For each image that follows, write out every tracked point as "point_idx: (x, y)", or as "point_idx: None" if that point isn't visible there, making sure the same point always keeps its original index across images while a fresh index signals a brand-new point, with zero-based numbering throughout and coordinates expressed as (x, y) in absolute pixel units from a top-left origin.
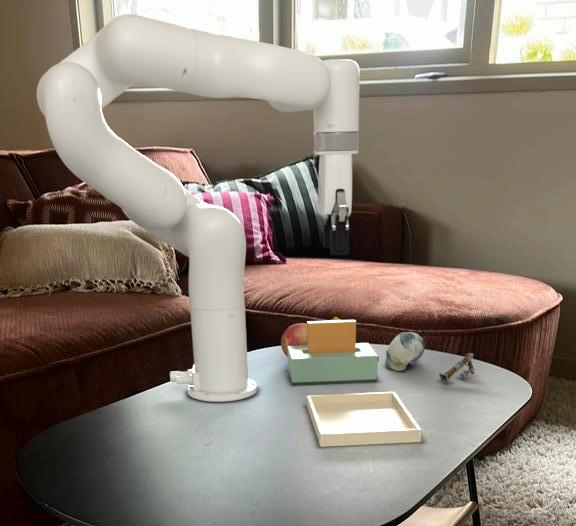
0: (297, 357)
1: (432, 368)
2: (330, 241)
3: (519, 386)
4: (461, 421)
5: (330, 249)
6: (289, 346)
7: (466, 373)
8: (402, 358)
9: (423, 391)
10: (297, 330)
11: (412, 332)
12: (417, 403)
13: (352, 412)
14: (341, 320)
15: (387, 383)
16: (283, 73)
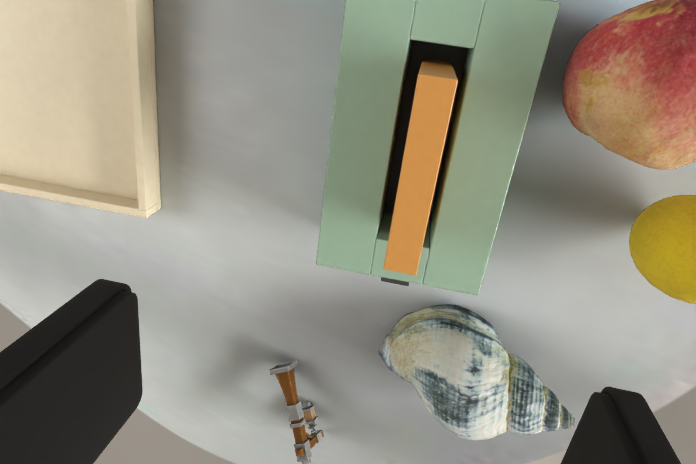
0: (363, 2)
1: (407, 390)
2: (40, 341)
3: (234, 459)
4: (44, 280)
5: (94, 299)
6: (546, 8)
7: (305, 419)
8: (403, 342)
9: (234, 298)
10: (633, 69)
11: (474, 431)
12: (154, 252)
13: (75, 84)
14: (420, 225)
15: (313, 251)
16: None
